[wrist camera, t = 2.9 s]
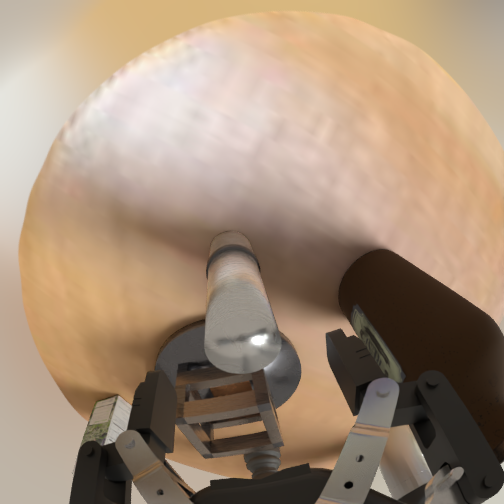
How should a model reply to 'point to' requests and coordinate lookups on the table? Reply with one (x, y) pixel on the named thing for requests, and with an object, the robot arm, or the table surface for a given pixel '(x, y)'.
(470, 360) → the olive oil
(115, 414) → the syrup box
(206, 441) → the collar stand
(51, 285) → the table surface
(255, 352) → the silver metal bottle
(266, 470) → the candle holder
